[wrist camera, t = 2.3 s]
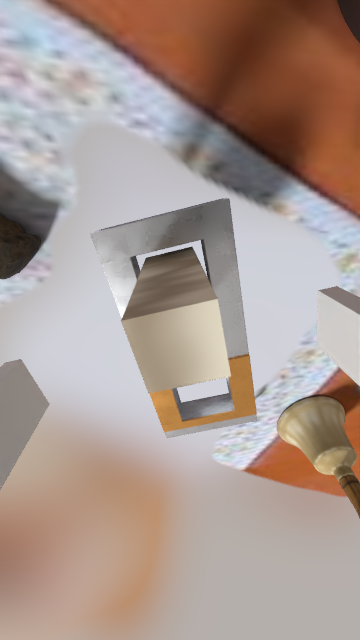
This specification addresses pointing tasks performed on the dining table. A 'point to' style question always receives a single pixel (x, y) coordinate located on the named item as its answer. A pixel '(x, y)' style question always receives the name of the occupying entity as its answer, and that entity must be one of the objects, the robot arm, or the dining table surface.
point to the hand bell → (322, 440)
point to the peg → (175, 323)
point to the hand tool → (15, 247)
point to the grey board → (222, 272)
